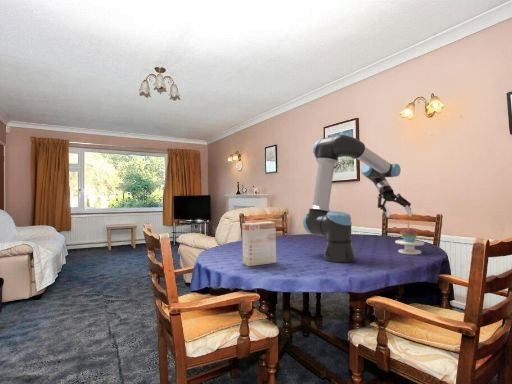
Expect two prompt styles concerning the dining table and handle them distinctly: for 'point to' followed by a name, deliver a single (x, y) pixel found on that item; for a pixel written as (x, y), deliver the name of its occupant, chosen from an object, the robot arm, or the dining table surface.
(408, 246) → the cake stand
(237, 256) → the dining table surface
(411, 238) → the cupcake
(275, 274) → the dining table surface
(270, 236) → the coffeecake box
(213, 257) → the dining table surface
